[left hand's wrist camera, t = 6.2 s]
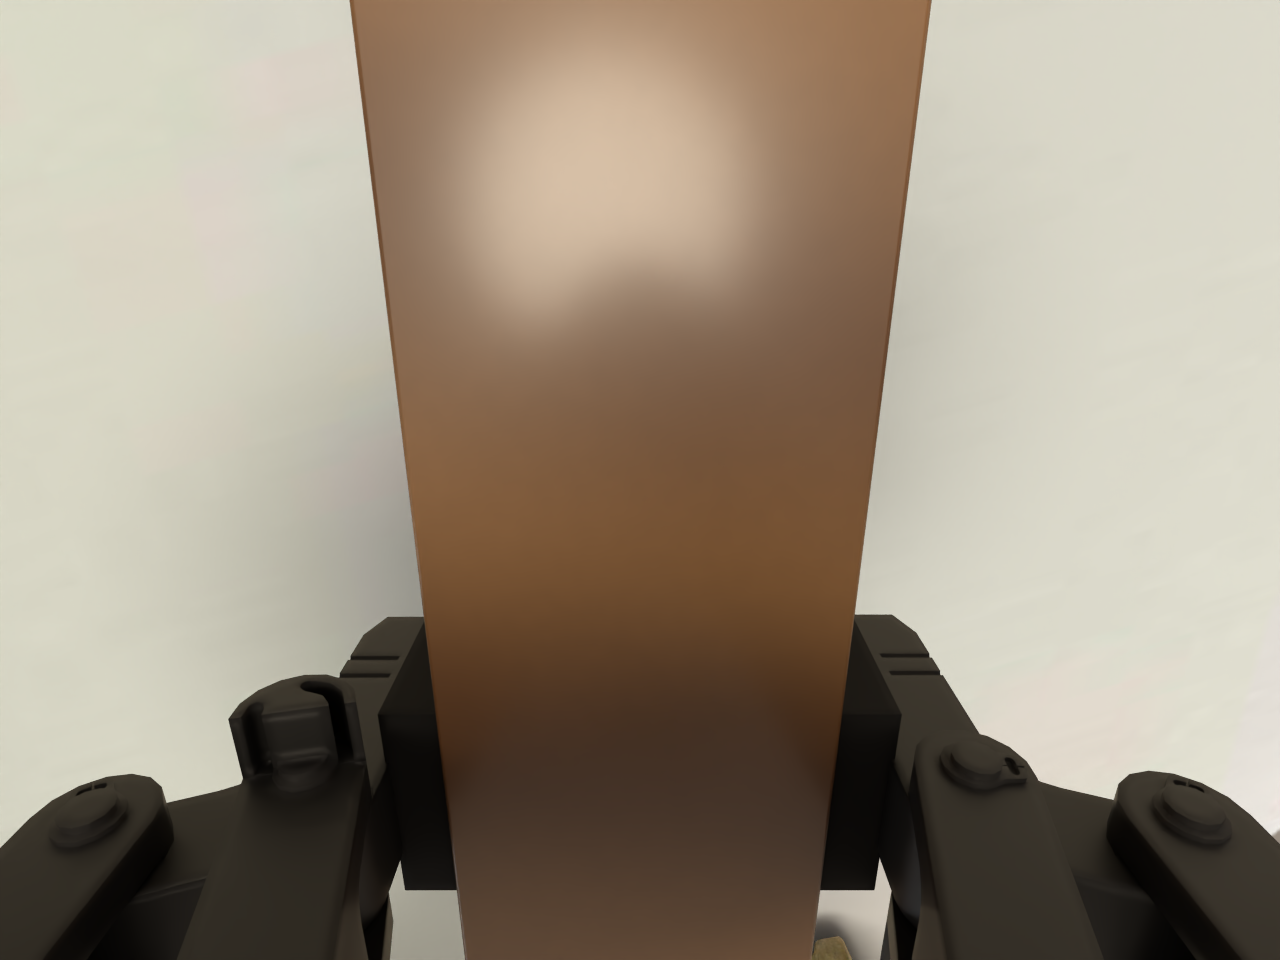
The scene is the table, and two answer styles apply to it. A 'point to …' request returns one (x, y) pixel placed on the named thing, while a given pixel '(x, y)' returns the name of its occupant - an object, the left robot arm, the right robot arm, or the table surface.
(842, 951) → the sculpture
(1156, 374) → the table surface
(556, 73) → the post
